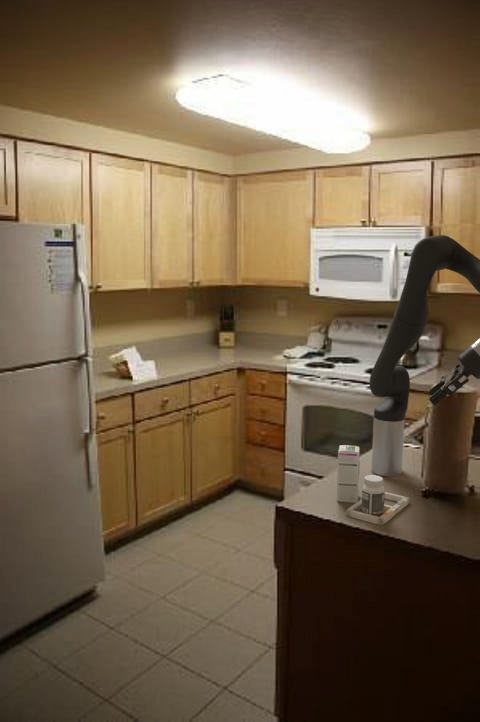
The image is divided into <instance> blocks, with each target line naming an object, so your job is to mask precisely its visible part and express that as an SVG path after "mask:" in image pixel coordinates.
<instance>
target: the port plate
mask: <svg viewBox="0 0 480 722" xmlns="http://www.w3.org/2000/svg"><path fill="white" fill-rule="evenodd" d="M385 499H386V500H390V501H393V502H397V503H395V504H394V505H393V506H392V505H388V504H385V503H384V514H383V515H382V516H380V517H377V516H373V515H370V514H366V513H362V512H361V509H362V498H361V499H360V500H358V502H357V503H353V504H352V505H351V506H350V507H348V508H347V509H346V510H345V516H347V517H349V518H353V519H354V518H355V519H358V520H361V521H364V522H365V521H366V522H369V523H371V524H376V525H378V526H379V525H380V526H384V524H386V523H387V522H389V520H391V519H392V518H393V517H394V516H396V515H397V514H398V513H399V512H401V511H402V510H403V509H404V508H405V507H406V506H408V505H409V504H410V497H407V496H403V495H400V494H395V493H390V492H387V491H385V496H384V500H385Z"/></svg>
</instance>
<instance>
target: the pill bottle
mask: <svg viewBox="0 0 480 722" xmlns="http://www.w3.org/2000/svg"><path fill="white" fill-rule="evenodd" d="M363 482H364V484H363V485H362V489H361V499H362V509H360V512H362V513H366V514H370V515H373V516H377V517H380V516H382V515H383V514H384V513H385V511H384V504H385V498H384V496H385V492H386V491H385V487H384V486H383V484H384V478H383V477H382V476H381V475H377V474H375V475H374V474H368V475H365V476H364V481H363Z"/></svg>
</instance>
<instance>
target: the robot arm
mask: <svg viewBox="0 0 480 722" xmlns="http://www.w3.org/2000/svg"><path fill="white" fill-rule="evenodd" d="M441 270H449V271H452V272H454V273H457V274H459V275H460V276H462V277H464V278H465V279H466V280H467V281H468V282H469V283H470V284H471V286H472V287H473V289H475V290H476V291H477V292H478V293H479V294H480V259H479V258H478V257H477V256H476V255H474V254H473V253H471V252H470V251H469V250H467V249H466V248H464V246H463V245H461V244H460V243H459V242H458V241H457V240H455V239H454V238H452V237H450V236H448V235H444V234H440V235H431V236H426V237H422V238H420V239H419V240H418V241H417V242H416V243H415V245H414V247H413V249H412V253H411V256H410V259H409V264H408V269H407V274H406V278H405V281H404V285H403V288H402V291H401V294H400V298H399V301H398V304H397V307H396V309H395V311H394V314H393V317H392V319H391V323H390V326H389V330H388V333H387V335H386V339H385V341H384V344H383V346H382V348H381V351H380V353H379V355H378V357H377V358H376V359H377V360H376V361H375V364H374V366H373V368H372V371H371V373H370V375H369V377H370V378H369V389H370V390H369V391H370V392H371V393H372V395H373V396H375V397H378V398H386V399H385V400H384V401H383V402H382V403H381V404H379V405H377V406H376V407H375V408H374V410H373V425H372V427H373V428H372V430H373V432H372V448H371V449H372V450H371V453H372V454H371V472H372V473H374V474H375V475H377V476H381V477H382V476H384V477H397V476H400V475H402V473H403V461H404V460H403V456H404V455H403V454H404V442H405V441H404V439H405V438H404V437H405V417H406V413H407V411H408V407H409V397H410V388H411V386H410V384H411V378H410V374H409V371H408V370H407V368H406V367H405V366H402V365H398V363H399V361H400V360H401V359H402V358H403V357H404V355H406V354H407V352H409V351H410V350H411V349H412V348H413V347H414V346H415V345H416V344H417V343H418V342H419V340H420V339H421V337H422V336H423V333H424V331H425V328H426V325H427V323H428V320H429V316H430V309H429V308H430V307H429V302H428V301H429V300H428V292H429V287H430V285H431V282H432V280H433V278H434V275H435V273H436V272H437V271H441ZM457 359H458V361H459V362H460V363H461V364H460V363H458V364H456V365H455V366H454V367H453V368H452V369H451V370H449V371H448V372H446V374H444V375H443V376H442V377H441V378H440V380H439V382H438V383H436V384H435V385H434V386H433V387H431V388H430V389H429V391H428V393H429V395H430V397H429V398H428V400H429V401H428V402H430V403H431V404H432V405H434V406H436V405H438V403H440V402H441V401H442V400H444V399H445V398H446V397H452V396H453V395H454V394H455V393H456V392H457V391H458V390H460V389H461V388H462V387H463V386H465V385H466V383H468V382H469V381H470V379H469V377H470V376H473V377H474V378H475V379H477V380H480V338H478V339H477V340H476V341H474V342H473V343H472V344H471V345H470V346H468V347H467V348H466V349H465V350H464V351H463V352H461V353H460V354H459V355H458V356H457Z"/></svg>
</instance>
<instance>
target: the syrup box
mask: <svg viewBox="0 0 480 722" xmlns="http://www.w3.org/2000/svg"><path fill="white" fill-rule="evenodd" d="M360 448H361V447H360V446H359V445H352V444H351V445H349V444H342V445H341V444H340V445H339V446H338V451H337V478H336V479H337V482H336V483H337V485H336V487H337V488H336V491H337V492H336V501H337V502H342V503H351V504H355V503H357V502H358V501H359V493H360V491H359V490H360Z"/></svg>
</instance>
